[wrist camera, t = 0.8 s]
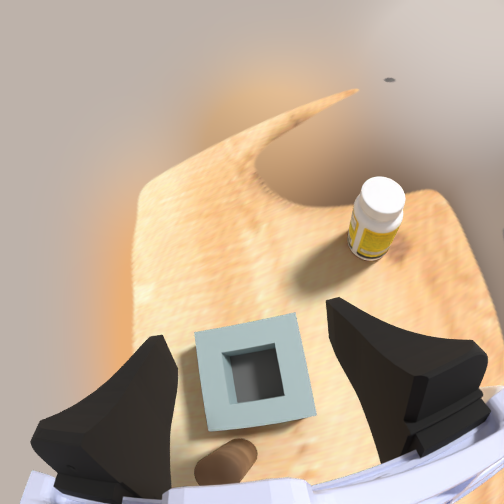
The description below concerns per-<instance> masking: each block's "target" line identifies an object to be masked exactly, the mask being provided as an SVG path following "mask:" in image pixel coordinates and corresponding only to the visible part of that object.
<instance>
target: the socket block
mask: <svg viewBox="0 0 504 504" xmlns="http://www.w3.org/2000/svg"><path fill="white" fill-rule="evenodd" d="M194 333H195V342H196V350H197V358H198V366H199V373H200V381H201V388H202V394H203V401H204V407H205V414H206V420H207V426H208V431H220V430H231V429H240V428H248V427H255V426H262V425H269V424H275V423H281V422H286V421H292V420H297V419H302V418H307V417H311V416H316V415H317V414H316V409H315V404H314V399H313V394H312V389H311V384H310V379H309V374H308V369H307V364H306V360H305V355H304V350H303V346H302V341H301V336H300V332H299V327H298V323H297V318H296V313H290V314H286V315H281V316H277V317H272V318H267V319H263V320H258V321H253V322H248V323H243V324H238V325H232V326H227V327H222V328H216V329H211V330H205V331H199V332H194Z"/></svg>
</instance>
